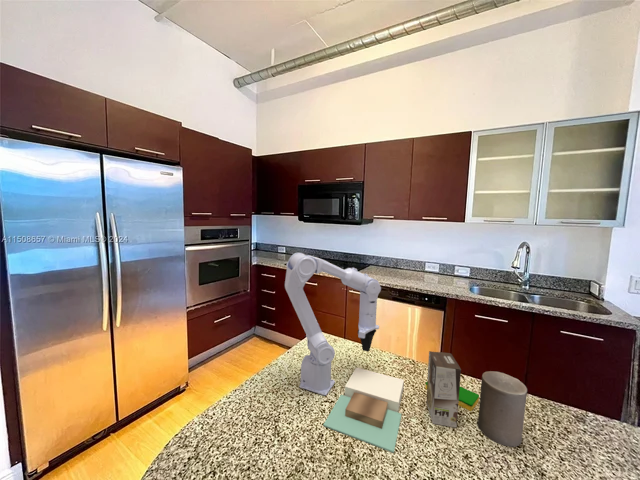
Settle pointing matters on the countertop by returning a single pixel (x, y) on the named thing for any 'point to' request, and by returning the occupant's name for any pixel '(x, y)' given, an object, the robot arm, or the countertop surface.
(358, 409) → the walnut coaster
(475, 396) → the dish sponge
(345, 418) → the sage mat
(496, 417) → the pillar candle
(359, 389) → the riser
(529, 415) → the countertop surface
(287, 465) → the countertop surface
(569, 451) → the countertop surface
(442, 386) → the coffee box
